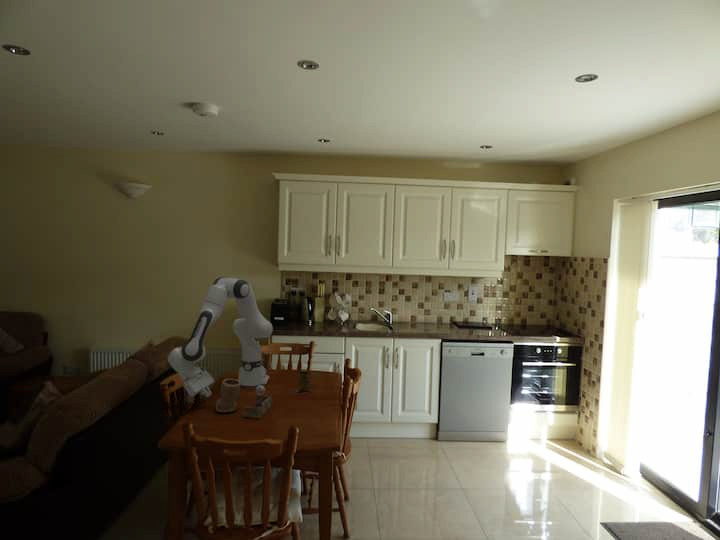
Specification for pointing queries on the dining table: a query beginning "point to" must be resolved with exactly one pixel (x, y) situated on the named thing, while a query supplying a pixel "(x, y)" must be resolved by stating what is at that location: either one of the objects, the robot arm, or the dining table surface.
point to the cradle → (262, 401)
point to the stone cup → (228, 395)
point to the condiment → (303, 381)
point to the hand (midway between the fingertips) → (209, 395)
